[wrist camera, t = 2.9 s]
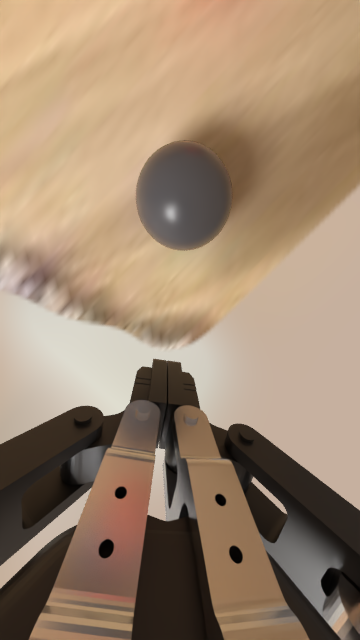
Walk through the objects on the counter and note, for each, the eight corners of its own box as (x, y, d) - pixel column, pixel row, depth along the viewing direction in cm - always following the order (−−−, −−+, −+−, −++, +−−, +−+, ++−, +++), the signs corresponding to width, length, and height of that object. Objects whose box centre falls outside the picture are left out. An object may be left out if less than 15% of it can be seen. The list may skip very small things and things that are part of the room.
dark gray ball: (148, 255, 18) (142, 259, 12) (132, 169, 16) (116, 126, 10) (222, 243, 18) (249, 242, 12) (215, 157, 16) (243, 108, 10)
